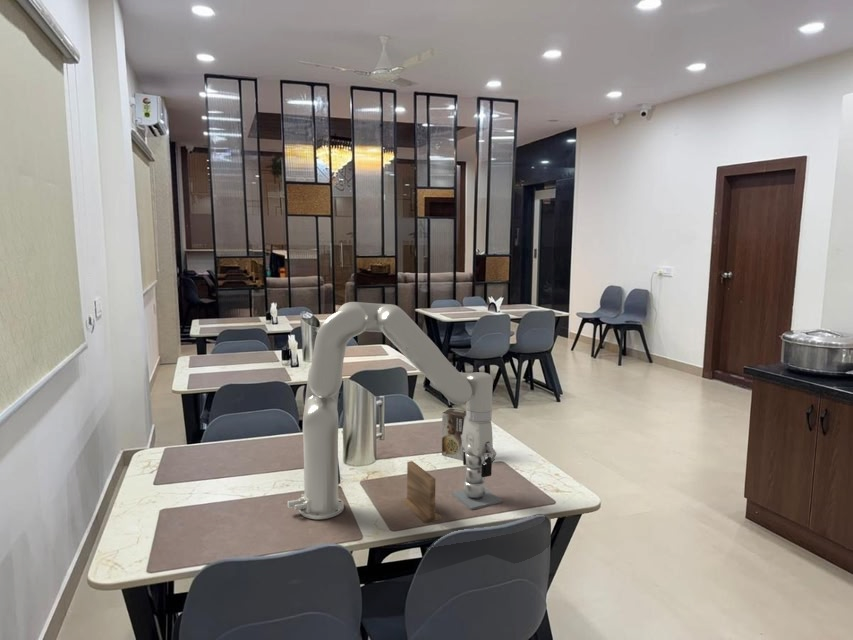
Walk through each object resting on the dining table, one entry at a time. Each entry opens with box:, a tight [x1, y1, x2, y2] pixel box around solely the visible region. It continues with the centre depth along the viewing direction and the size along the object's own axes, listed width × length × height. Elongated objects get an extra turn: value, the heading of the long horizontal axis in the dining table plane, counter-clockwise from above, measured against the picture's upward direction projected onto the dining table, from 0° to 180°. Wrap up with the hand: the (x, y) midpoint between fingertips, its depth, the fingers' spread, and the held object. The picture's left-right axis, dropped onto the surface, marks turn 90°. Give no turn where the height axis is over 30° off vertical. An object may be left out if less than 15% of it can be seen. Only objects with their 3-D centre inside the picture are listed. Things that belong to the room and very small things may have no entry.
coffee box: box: [441, 408, 466, 461], centre depth 201 cm, size 9×6×16 cm
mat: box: [450, 488, 503, 511], centre depth 168 cm, size 11×11×1 cm
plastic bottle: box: [463, 444, 487, 498], centre depth 167 cm, size 6×7×20 cm
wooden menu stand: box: [401, 460, 441, 523], centre depth 160 cm, size 5×14×12 cm, turn 28°
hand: (476, 470), depth 167 cm, fingers open, 9 cm apart
